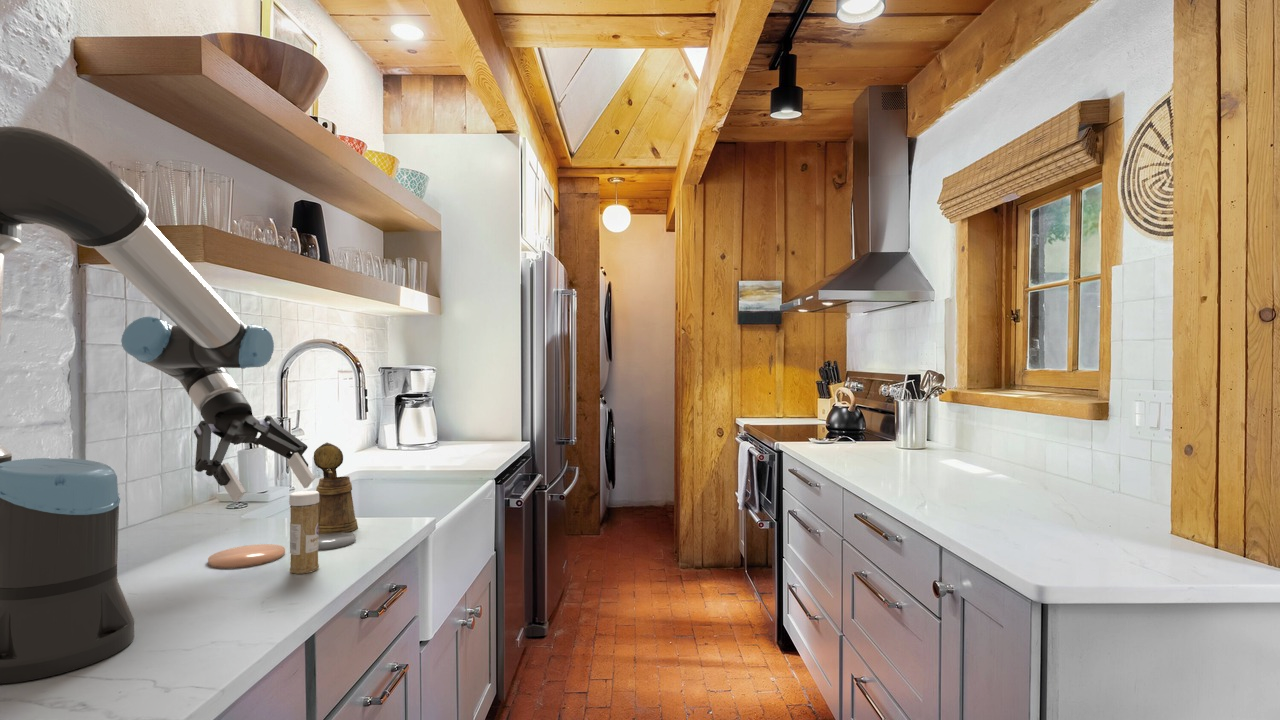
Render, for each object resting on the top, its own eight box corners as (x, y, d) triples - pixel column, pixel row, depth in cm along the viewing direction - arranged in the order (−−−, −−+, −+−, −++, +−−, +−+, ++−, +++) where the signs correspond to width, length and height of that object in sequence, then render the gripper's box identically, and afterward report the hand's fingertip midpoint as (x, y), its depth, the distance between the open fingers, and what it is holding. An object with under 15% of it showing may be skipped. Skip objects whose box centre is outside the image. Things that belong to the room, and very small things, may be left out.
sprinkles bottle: (320, 571, 108) (320, 492, 108) (290, 576, 105) (290, 495, 106) (317, 564, 112) (317, 488, 112) (287, 569, 109) (288, 491, 109)
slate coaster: (309, 553, 118) (309, 549, 119) (292, 542, 126) (292, 538, 126) (363, 542, 126) (363, 538, 126) (344, 533, 133) (344, 529, 133)
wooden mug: (347, 518, 146) (348, 440, 146) (362, 531, 135) (362, 446, 135) (304, 524, 140) (305, 443, 141) (315, 537, 130) (316, 450, 130)
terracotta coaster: (216, 572, 107) (216, 568, 107) (201, 557, 116) (201, 553, 116) (293, 557, 116) (293, 553, 116) (274, 544, 124) (274, 540, 124)
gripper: (272, 412, 131) (324, 490, 125) (138, 422, 108) (194, 518, 102) (290, 387, 129) (344, 465, 123) (158, 392, 106) (217, 488, 100)
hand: (276, 490), depth 113 cm, fingers open, 13 cm apart
